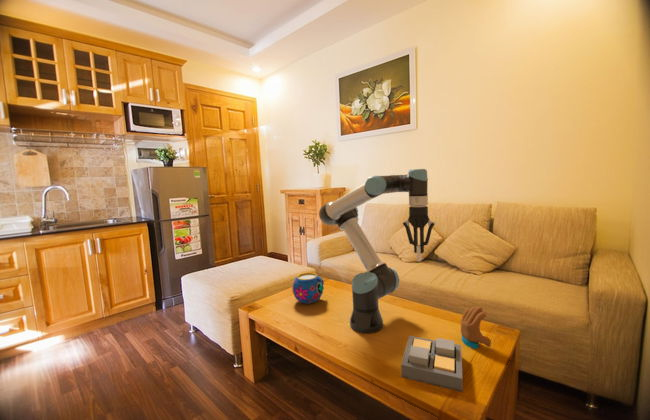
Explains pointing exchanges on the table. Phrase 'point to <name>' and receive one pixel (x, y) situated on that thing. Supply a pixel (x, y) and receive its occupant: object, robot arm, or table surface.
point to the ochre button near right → (444, 364)
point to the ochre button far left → (422, 344)
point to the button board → (431, 374)
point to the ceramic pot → (308, 287)
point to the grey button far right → (445, 347)
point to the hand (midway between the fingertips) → (419, 260)
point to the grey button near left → (419, 356)
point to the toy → (473, 328)
